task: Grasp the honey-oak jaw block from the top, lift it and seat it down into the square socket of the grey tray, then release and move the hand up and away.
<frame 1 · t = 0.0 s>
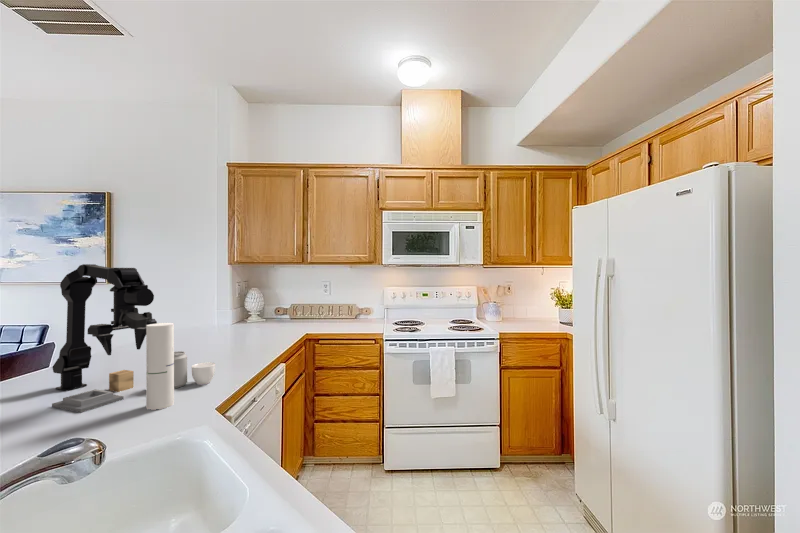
hand: (124, 352, 124), 15 cm above the counter, tool pointing down, fingers open, 9 cm apart
grey tray: (88, 403, 118), on the counter
cylindrical container: (160, 406, 115), on the counter
oak jaw block: (121, 389, 131), on the counter
cup: (201, 383, 138), on the counter
can: (175, 386, 135), on the counter
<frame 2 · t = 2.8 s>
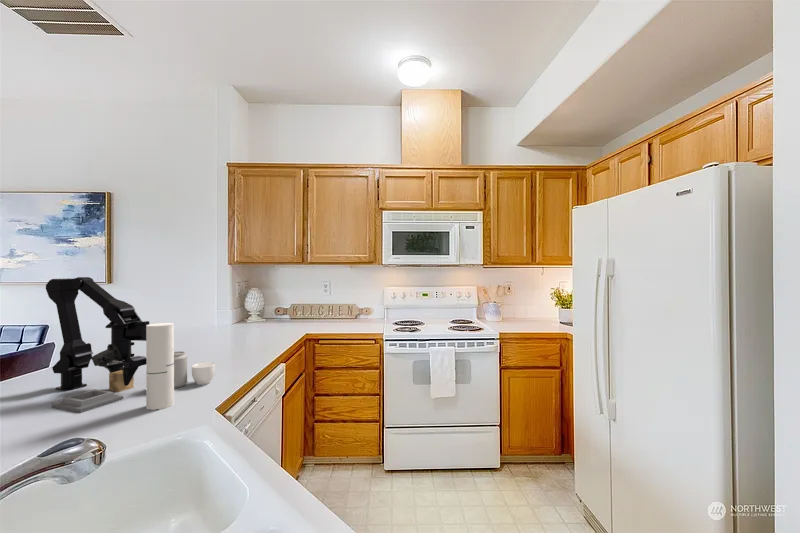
hand: (121, 384, 132), 2 cm above the counter, tool pointing down, fingers closed on oak jaw block, 5 cm apart
oak jaw block: (121, 389, 132), on the counter, touching gripper
everything else where it was.
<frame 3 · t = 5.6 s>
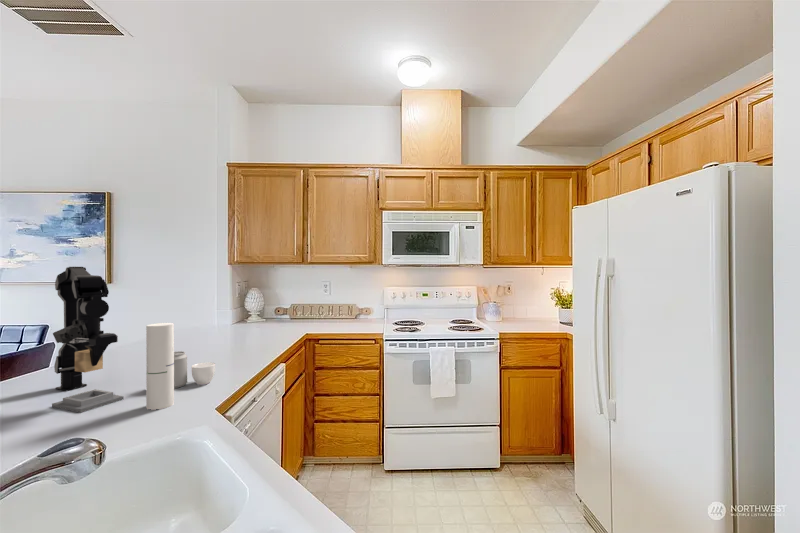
hand: (88, 365, 118), 12 cm above the counter, tool pointing down, fingers closed on oak jaw block, 5 cm apart
oak jaw block: (88, 369, 118), point 10 cm above the counter, touching gripper
everything else where it was.
when the fingers open (3 cm above the counter, at t = 8.4 s): oak jaw block stays where it is, resting on grey tray.
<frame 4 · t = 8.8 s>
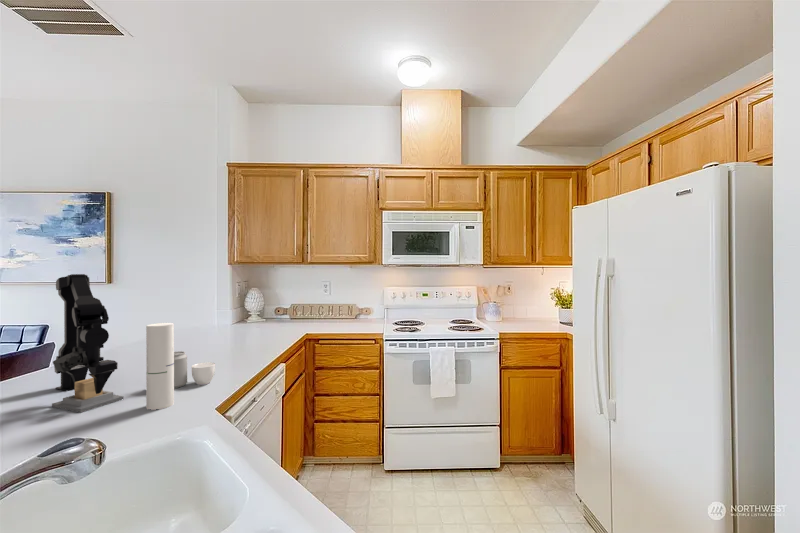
hand: (88, 391, 118), 3 cm above the counter, tool pointing down, fingers open, 9 cm apart
oak jaw block: (88, 399, 118), point 1 cm above the counter, touching grey tray
everything else where it was.
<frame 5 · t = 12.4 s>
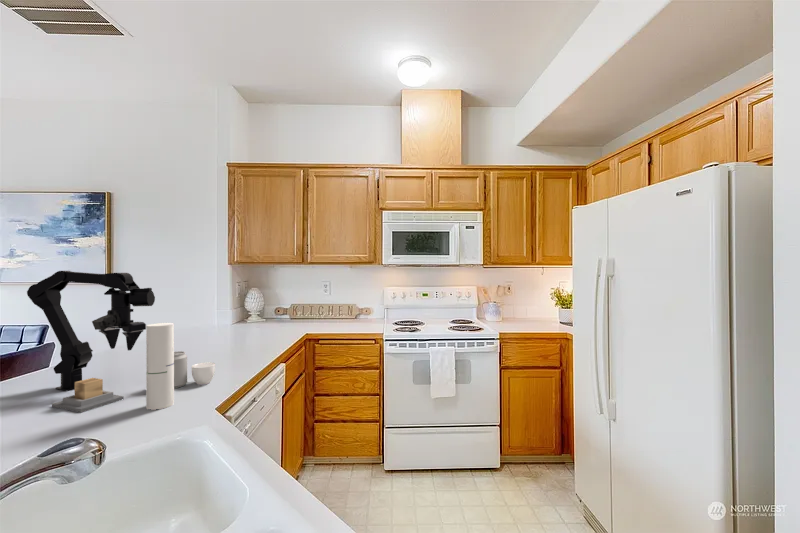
hand: (121, 349, 136), 13 cm above the counter, tool pointing down, fingers open, 9 cm apart
nothing on the counter moved.
at the end: oak jaw block 0.1 cm off-centre on the grey tray, point 1.0 cm above the grey tray's base; oak jaw block tilted 0°; the gripper is holding nothing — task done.
